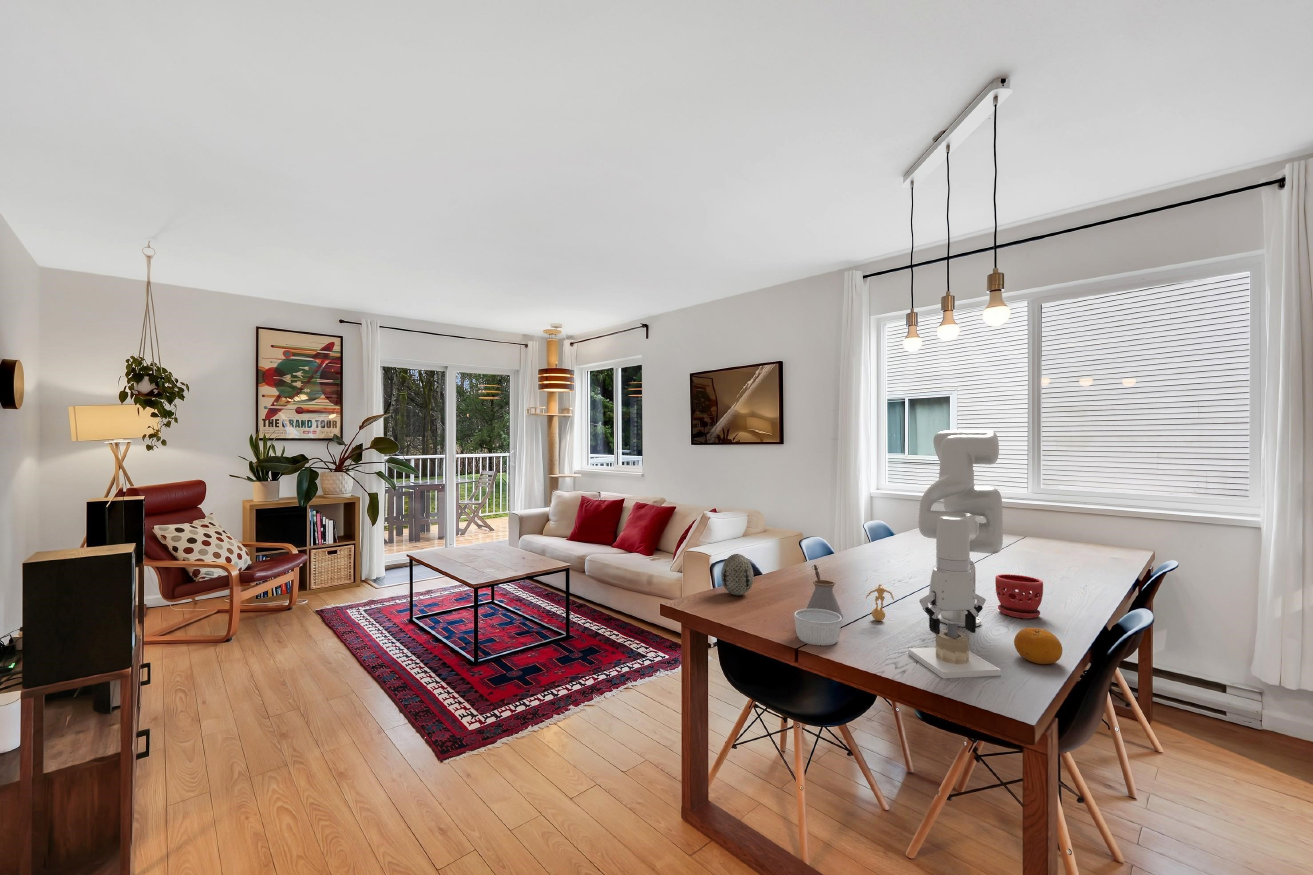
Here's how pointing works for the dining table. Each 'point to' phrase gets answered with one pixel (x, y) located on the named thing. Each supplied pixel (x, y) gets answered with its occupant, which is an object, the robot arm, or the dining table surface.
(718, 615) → the dining table surface
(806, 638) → the ramekin
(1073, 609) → the dining table surface
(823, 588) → the coffee pot
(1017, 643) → the fruit
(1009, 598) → the plant pot
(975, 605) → the robot arm
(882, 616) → the figurine
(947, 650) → the bead
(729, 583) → the decorative egg
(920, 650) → the post board
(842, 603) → the dining table surface
